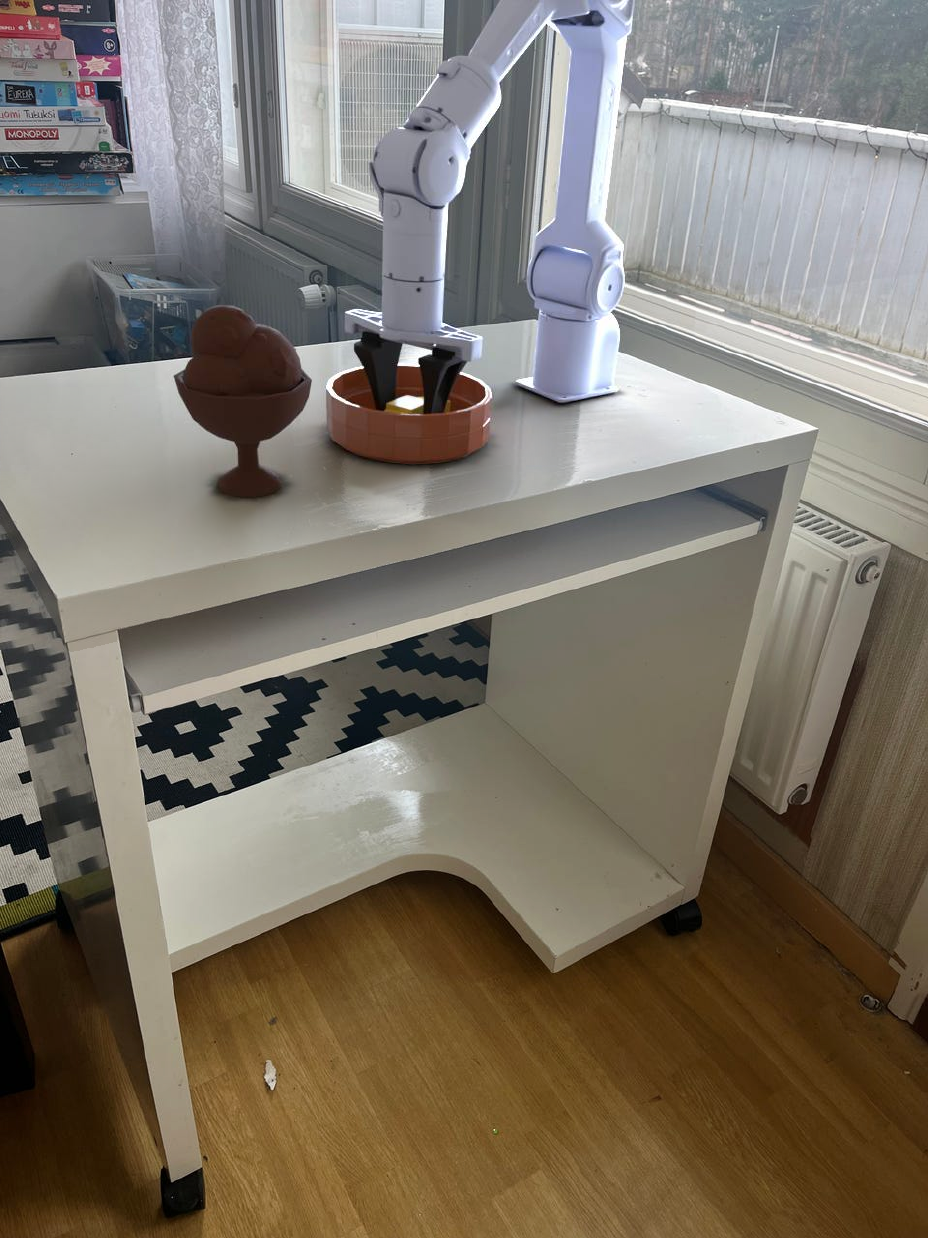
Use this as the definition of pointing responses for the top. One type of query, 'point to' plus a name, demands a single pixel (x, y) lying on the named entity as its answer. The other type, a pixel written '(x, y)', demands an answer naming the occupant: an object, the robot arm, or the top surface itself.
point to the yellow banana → (409, 405)
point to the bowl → (407, 419)
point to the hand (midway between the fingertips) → (408, 418)
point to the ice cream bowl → (242, 390)
